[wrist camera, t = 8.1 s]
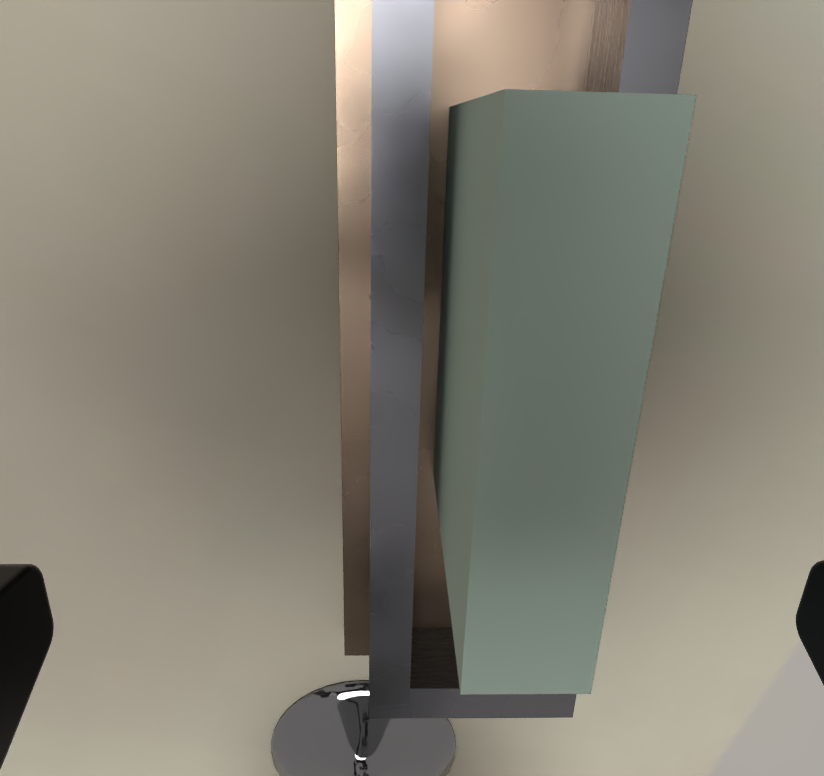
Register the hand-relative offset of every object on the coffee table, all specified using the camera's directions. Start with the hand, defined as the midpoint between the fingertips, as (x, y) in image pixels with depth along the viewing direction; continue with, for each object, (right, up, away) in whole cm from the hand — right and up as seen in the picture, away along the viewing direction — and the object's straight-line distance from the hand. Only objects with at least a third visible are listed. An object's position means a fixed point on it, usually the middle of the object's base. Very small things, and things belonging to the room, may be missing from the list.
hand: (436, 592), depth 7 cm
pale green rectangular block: (+2, +4, +10) cm, 11 cm away
